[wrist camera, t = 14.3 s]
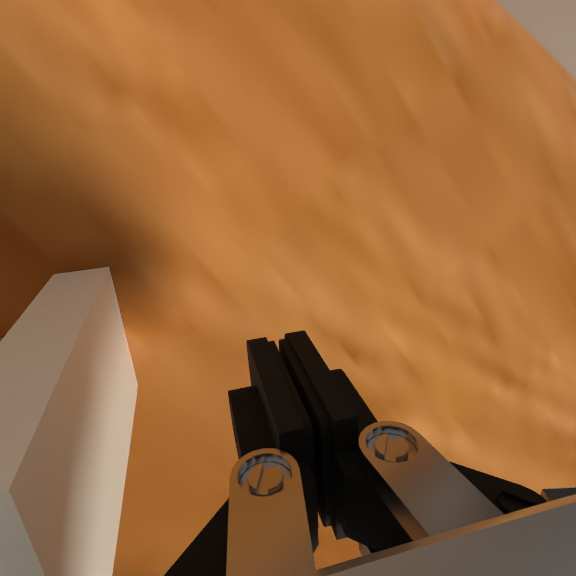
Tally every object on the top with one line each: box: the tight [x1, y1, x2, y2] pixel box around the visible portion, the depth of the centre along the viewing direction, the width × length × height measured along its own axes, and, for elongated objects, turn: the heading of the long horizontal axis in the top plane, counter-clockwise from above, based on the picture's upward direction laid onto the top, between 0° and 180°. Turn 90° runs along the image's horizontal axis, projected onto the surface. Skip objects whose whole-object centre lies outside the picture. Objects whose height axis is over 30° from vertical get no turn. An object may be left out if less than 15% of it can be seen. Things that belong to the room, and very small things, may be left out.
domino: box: [0, 267, 138, 576], centre depth 11 cm, size 2×5×10 cm, turn 4°
